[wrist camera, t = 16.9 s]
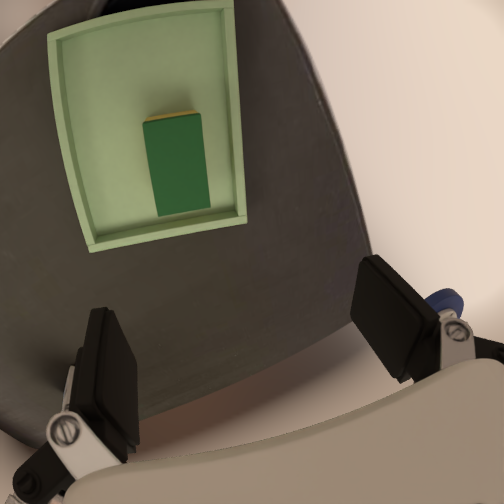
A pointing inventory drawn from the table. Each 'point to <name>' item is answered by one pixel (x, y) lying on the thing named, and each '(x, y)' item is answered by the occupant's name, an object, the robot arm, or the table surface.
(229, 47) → the tray
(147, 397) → the table surface
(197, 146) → the sponge
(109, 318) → the robot arm
